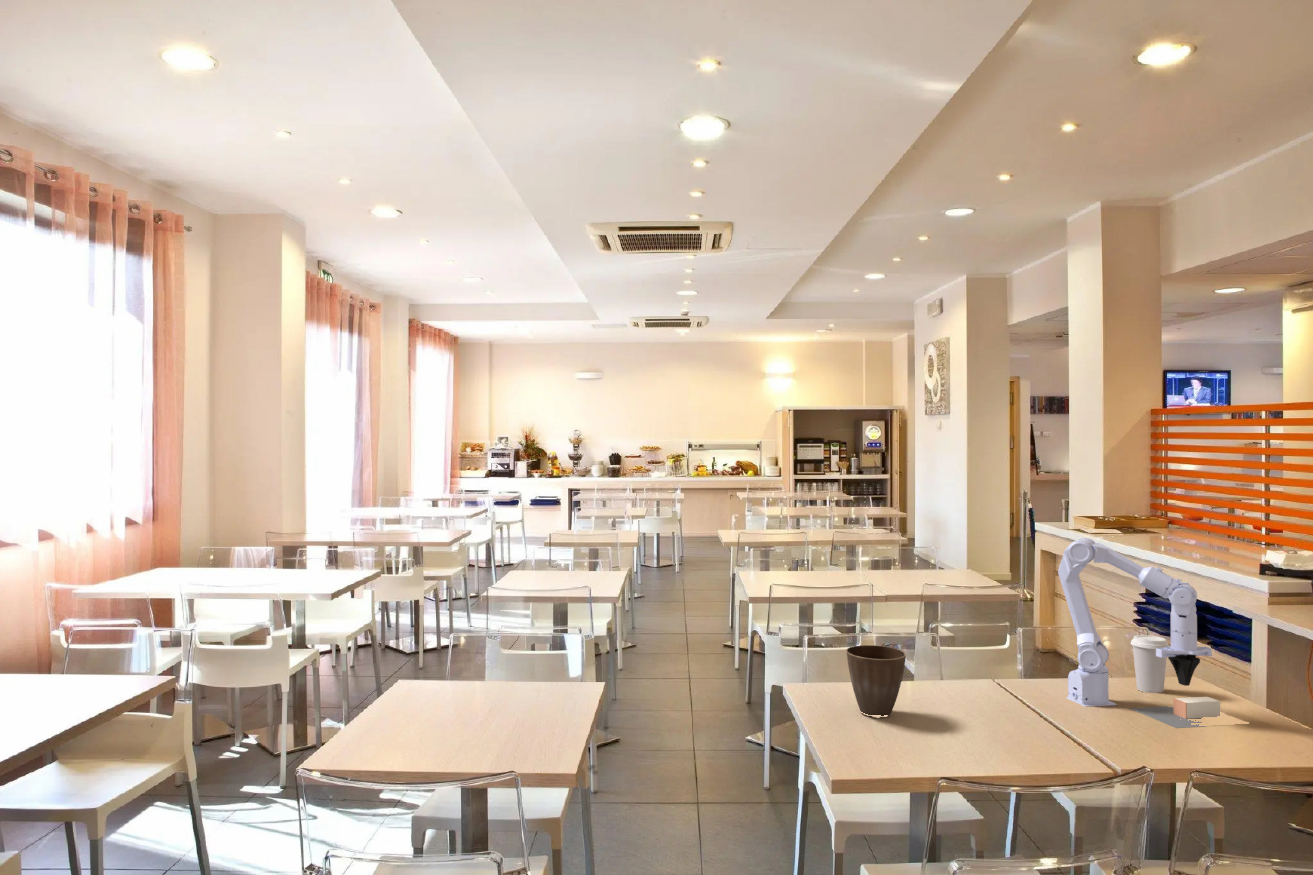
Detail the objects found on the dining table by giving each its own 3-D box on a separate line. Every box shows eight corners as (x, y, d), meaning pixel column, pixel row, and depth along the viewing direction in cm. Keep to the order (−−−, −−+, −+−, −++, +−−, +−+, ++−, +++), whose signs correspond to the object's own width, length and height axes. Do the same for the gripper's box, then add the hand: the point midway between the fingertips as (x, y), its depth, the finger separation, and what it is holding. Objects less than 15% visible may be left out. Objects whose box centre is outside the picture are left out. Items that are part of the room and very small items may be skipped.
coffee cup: (1123, 688, 237) (1122, 636, 237) (1145, 684, 241) (1144, 633, 241) (1155, 697, 228) (1155, 642, 229) (1177, 693, 232) (1177, 639, 233)
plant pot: (918, 719, 208) (918, 655, 208) (869, 726, 202) (869, 660, 202) (881, 702, 221) (881, 643, 222) (834, 708, 216) (834, 647, 216)
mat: (1176, 729, 201) (1176, 727, 201) (1128, 709, 217) (1128, 708, 217) (1254, 725, 204) (1254, 723, 204) (1202, 706, 220) (1202, 704, 220)
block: (1185, 702, 208) (1220, 701, 210) (1173, 698, 212) (1207, 696, 214) (1185, 718, 208) (1220, 716, 210) (1173, 713, 212) (1207, 712, 214)
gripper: (1170, 635, 206) (1171, 689, 205) (1221, 633, 208) (1222, 687, 208) (1149, 629, 213) (1150, 682, 212) (1198, 627, 215) (1199, 680, 215)
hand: (1184, 684), depth 210 cm, fingers closed
